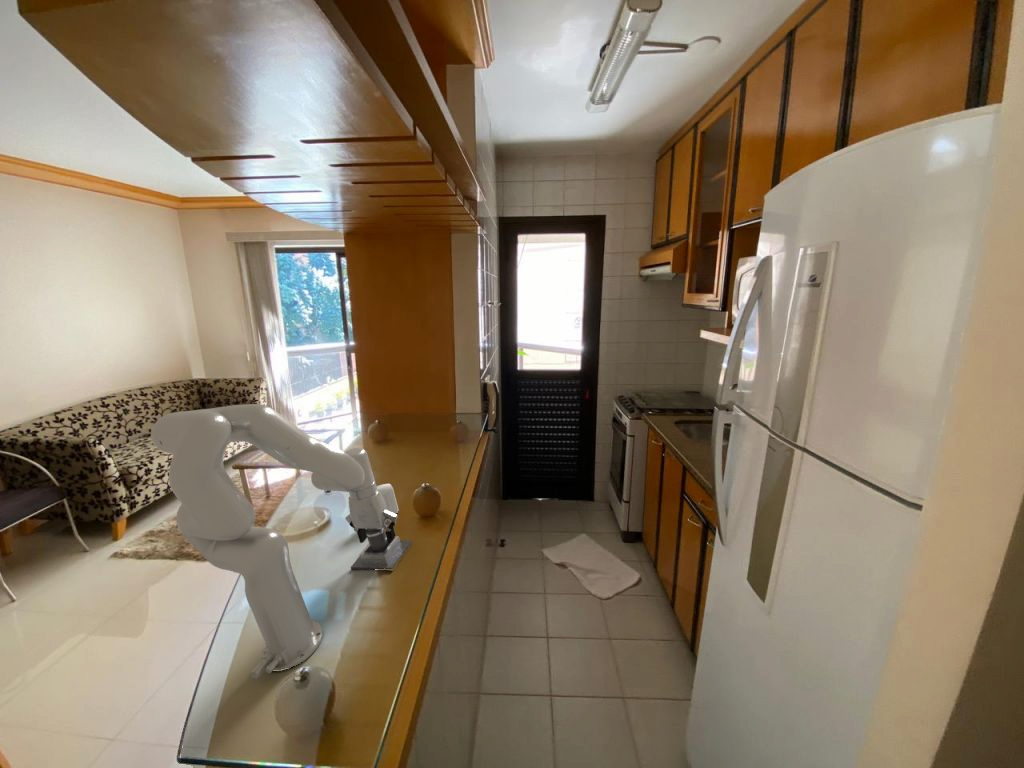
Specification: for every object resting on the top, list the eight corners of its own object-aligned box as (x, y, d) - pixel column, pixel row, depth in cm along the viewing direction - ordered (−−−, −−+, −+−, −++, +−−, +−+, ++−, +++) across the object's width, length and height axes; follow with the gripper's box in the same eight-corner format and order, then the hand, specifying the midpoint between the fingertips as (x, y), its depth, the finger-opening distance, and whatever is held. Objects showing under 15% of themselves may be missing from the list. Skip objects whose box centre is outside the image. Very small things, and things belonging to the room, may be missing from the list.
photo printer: (397, 508, 147) (389, 479, 144) (401, 513, 143) (392, 483, 140) (369, 521, 142) (360, 490, 138) (372, 526, 138) (363, 495, 135)
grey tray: (393, 571, 113) (389, 559, 112) (351, 569, 117) (347, 558, 116) (412, 543, 125) (409, 532, 124) (373, 543, 128) (370, 532, 127)
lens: (384, 559, 117) (377, 533, 115) (369, 559, 119) (362, 533, 117) (393, 548, 122) (386, 523, 120) (379, 547, 124) (371, 523, 121)
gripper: (329, 498, 114) (346, 548, 118) (382, 496, 109) (397, 548, 114) (345, 484, 121) (360, 532, 125) (395, 482, 116) (409, 532, 121)
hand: (378, 540), depth 119 cm, fingers open, 9 cm apart
